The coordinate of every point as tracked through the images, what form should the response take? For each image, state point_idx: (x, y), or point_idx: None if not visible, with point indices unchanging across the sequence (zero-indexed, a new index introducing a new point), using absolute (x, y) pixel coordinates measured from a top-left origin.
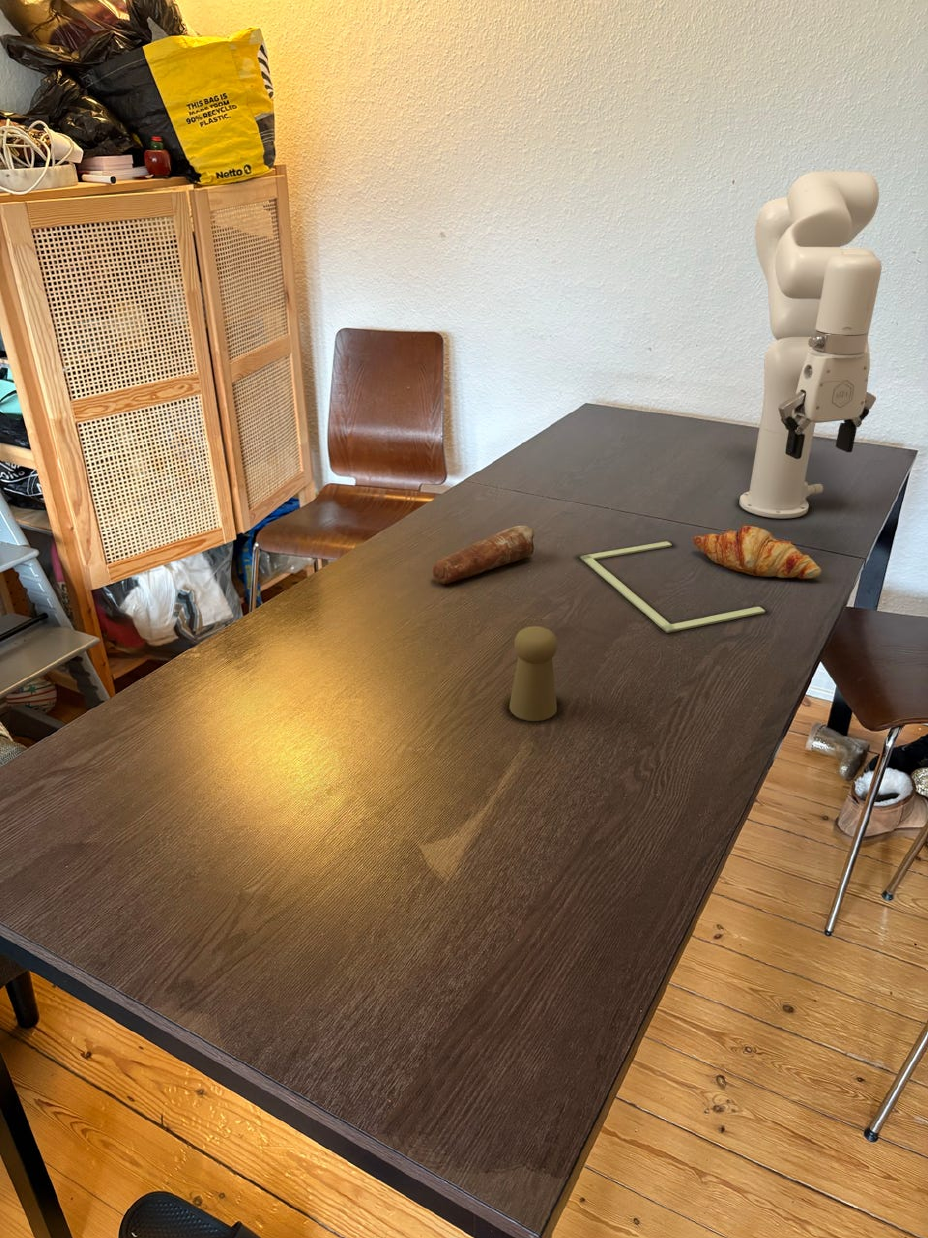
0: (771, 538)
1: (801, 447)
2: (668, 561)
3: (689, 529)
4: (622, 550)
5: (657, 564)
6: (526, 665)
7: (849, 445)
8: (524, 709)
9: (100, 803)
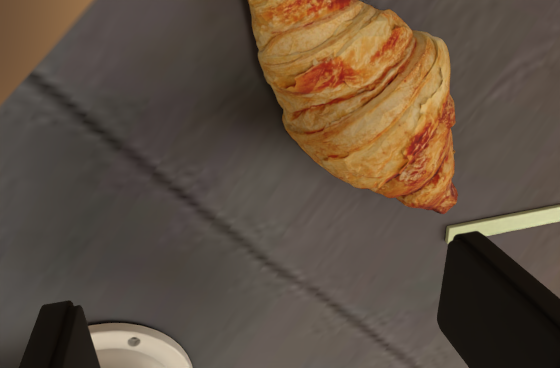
0: (352, 102)
1: (515, 271)
2: (496, 161)
3: (362, 294)
4: (547, 217)
5: (523, 153)
6: None
7: (66, 336)
8: None
9: None
